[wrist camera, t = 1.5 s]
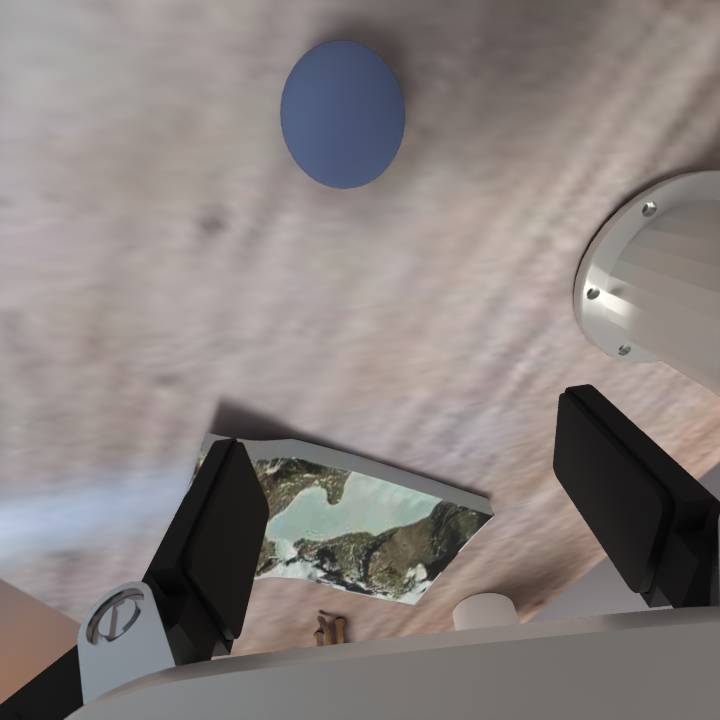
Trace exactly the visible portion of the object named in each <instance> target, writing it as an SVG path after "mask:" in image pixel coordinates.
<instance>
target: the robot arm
mask: <svg viewBox="0 0 720 720" xmlns="http://www.w3.org/2000/svg"><path fill="white" fill-rule="evenodd" d="M573 297H574V312H575V315H576V319H577V322H578V325H579V327H580V329H581V330H582V332H583V334H584V335H585V337H586V338H587V339H588V340H589V341H590V342H591V343H592V344H593V345H594V346H595V347H597V348H598V349H600V350H601V351H603V352H604V353H606V354H607V355H609V356H611V357H614V358H616V359H618V360H623V361H628V362H633V363H652V362H658V361H663V362H665V363H666V364H668V365H669V366H671V367H673V368H674V369H676V370H678V371H679V372H681V373H683V374H684V375H686V376H687V377H689V378H691V379H692V380H694V381H696V382H697V383H699V384H700V385H702V386H704V387H705V388H707V389H709V390H710V391H712V392H713V393H715V394H717V395H718V396H720V170H715V171H696V172H691V173H685V174H680V175H678V176H675V177H672V178H670V179H667V180H664V181H662V182H659V183H657V184H656V185H654V186H652V187H650V188H648V189H647V190H645V191H643V192H641V193H640V194H638V195H637V196H636V197H634V198H633V199H632V200H630V201H629V202H628V203H627V204H625V205H624V206H623V207H621V208H620V209H619V210H618V211H617V212H616V213H615V214H614V215H613V217H612V218H611V219H610V220H609V221H608V222H607V223H606V224H605V225H604V226H603V228H602V229H601V230H600V232H599V233H598V234H597V236H596V237H595V238H594V240H593V241H592V243H591V245H590V246H589V248H588V250H587V252H586V254H585V256H584V258H583V260H582V262H581V265H580V268H579V271H578V274H577V277H576V282H575V288H574V295H573ZM553 468H554V472H555V475H556V477H557V479H558V480H559V482H560V483H561V485H562V486H563V488H564V489H565V491H566V492H567V494H568V495H569V497H570V498H571V500H572V501H573V503H574V505H575V506H576V508H577V509H578V511H579V512H580V514H581V515H582V517H583V518H584V520H585V521H586V523H587V524H588V526H589V527H590V529H591V530H592V532H593V533H594V535H595V537H596V538H597V540H598V541H599V543H600V544H601V546H602V547H603V549H604V550H605V552H606V553H607V555H608V556H609V558H610V559H611V561H612V562H613V564H614V566H615V567H616V568H617V570H618V572H619V573H620V575H621V576H622V578H623V579H624V581H625V582H626V584H627V585H628V587H629V588H630V589H631V590H632V591H633V592H635V593H640V594H641V596H642V597H643V599H644V600H645V602H646V603H647V605H648V606H649V607H650V608H652V607H661V606H670V605H672V607H673V608H674V609H664V610H652V611H641V612H629V613H619V614H608V615H598V616H589V617H579V618H570V619H561V620H551V621H541V622H532V623H523V624H513V625H504V626H495V627H486V628H477V629H468V630H459V631H450V632H440V633H432V634H423V635H414V636H405V637H396V638H387V639H378V640H369V641H361V642H352V643H344V644H335V645H327V646H318V647H310V648H301V649H293V650H284V651H276V652H267V653H260V654H253V655H246V656H238V657H231V658H224V659H216V660H211V658H212V657H214V656H223V655H230V653H231V649H232V645H233V641H234V639H238V638H239V636H240V634H241V631H242V627H243V623H244V619H245V614H246V610H247V606H248V602H249V598H250V594H251V589H252V585H253V581H254V577H255V573H256V569H257V565H258V560H259V556H260V552H261V548H262V544H263V540H264V535H265V531H266V527H267V523H268V519H269V504H268V502H267V499H266V497H265V494H264V492H263V489H262V487H261V484H260V482H259V480H258V477H257V475H256V472H255V470H254V467H253V465H252V462H251V460H250V458H249V455H248V453H247V450H246V448H245V445H244V443H243V442H238V441H237V439H236V438H229V439H222V440H216V441H214V442H213V444H212V446H211V448H210V450H209V452H208V454H207V456H206V458H205V459H204V461H203V463H202V465H201V467H200V469H199V471H198V473H197V475H196V477H195V479H194V481H193V483H192V485H191V487H190V489H189V491H188V493H187V494H186V495H185V497H184V499H183V501H182V503H181V505H180V507H179V509H178V511H177V513H176V515H175V517H174V518H173V520H172V522H171V524H170V526H169V528H168V530H167V532H166V534H165V536H164V538H163V540H162V542H161V544H160V546H159V548H158V550H157V552H156V554H155V556H154V558H153V560H152V562H151V563H150V565H149V567H148V569H147V571H146V573H145V575H144V577H143V579H142V581H140V582H129V583H126V584H123V585H121V586H119V587H117V588H115V589H114V590H112V591H110V592H109V593H108V594H106V595H105V596H104V597H103V598H101V599H100V600H99V601H98V602H97V603H96V604H95V606H94V607H93V608H92V609H91V610H90V611H89V613H88V614H87V616H86V617H85V619H84V620H83V622H82V625H81V627H80V629H79V632H78V641H77V645H76V646H74V647H73V648H72V649H71V650H69V651H68V652H67V653H66V654H64V655H63V656H62V657H60V658H59V659H58V660H57V661H55V662H54V663H53V664H52V665H50V666H49V667H48V668H47V669H45V670H44V671H43V672H41V673H40V674H39V675H37V676H36V677H35V678H34V679H32V680H31V681H30V682H28V683H27V684H26V685H25V686H23V687H22V688H21V689H20V690H18V691H17V692H16V693H14V694H13V695H12V696H11V697H9V698H8V699H7V700H6V701H4V702H3V703H2V704H0V720H720V502H719V501H718V500H717V499H716V498H715V497H714V496H713V495H712V494H711V493H710V492H709V491H708V490H706V489H705V488H704V487H703V486H702V485H701V484H700V483H699V482H698V481H697V480H695V479H694V478H693V477H692V476H691V475H690V474H689V473H688V472H687V471H686V470H685V469H683V468H682V467H681V466H680V465H679V464H678V463H677V462H676V461H675V460H674V459H672V458H671V457H670V456H669V455H668V454H667V453H666V452H665V451H664V450H663V449H662V448H660V447H659V446H658V445H657V444H656V443H655V442H654V441H653V440H652V439H651V438H649V437H648V436H647V435H646V434H645V433H644V432H643V431H641V430H640V429H639V428H638V427H637V426H636V425H635V424H634V423H633V422H632V421H631V420H629V419H628V418H627V417H626V416H625V415H624V414H623V413H622V412H621V411H620V410H619V409H617V408H616V407H615V406H614V405H613V404H612V403H611V402H610V401H609V400H608V399H606V398H605V397H604V396H603V395H602V394H601V393H600V392H599V391H598V390H597V389H596V388H594V387H593V386H592V385H590V384H586V385H580V386H573V387H568V388H566V390H565V393H562V394H560V396H559V404H558V415H557V426H556V437H555V448H554V459H553Z"/></svg>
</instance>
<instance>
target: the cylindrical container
mask: <svg viewBox="0 0 720 720" xmlns="http://www.w3.org/2000/svg"><path fill="white" fill-rule="evenodd" d="M453 619H454V623H455V628H456V631H459V630H468V629H477V628H486V627H495V626H504V625H513V624H521V623H520V620H519V618H518V615H517V612H516V610H515V607H514V605H513V602H512V601H511V600H510V599H509V598H508V597H506V596H504V595H501V594H496V593H482V594H477V595H473V596H470V597H468V598H466V599H464V600H462V601H461V602H460V603H458V604H457V605H456V607H455V608H454V610H453Z"/></svg>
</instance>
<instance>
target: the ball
mask: <svg viewBox="0 0 720 720" xmlns="http://www.w3.org/2000/svg"><path fill="white" fill-rule="evenodd" d="M280 115H281V126H282V132H283V136H284V139H285V142H286V145H287V147H288V149H289V151H290V153H291V155H292V157H293V158H294V160H295V161H296V163H297V164H298V165H299V167H300V168H301V169H302V170H303V171H304V172H305V173H306V174H308V175H309V176H310V177H311V178H313V179H314V180H316V181H317V182H319V183H322V184H324V185H326V186H329V187H333V188H340V189H348V188H355V187H359V186H362V185H365V184H367V183H369V182H371V181H372V180H374V179H375V178H377V177H378V176H379V175H380V174H382V173H383V171H384V170H385V169H386V168H387V167H388V166H389V165H390V163H391V162H392V160H393V159H394V157H395V155H396V153H397V151H398V149H399V146H400V144H401V140H402V137H403V132H404V125H405V107H404V101H403V96H402V92H401V89H400V86H399V84H398V81H397V79H396V77H395V75H394V73H393V72H392V70H391V69H390V67H389V66H388V65H387V63H386V62H385V61H384V60H383V59H382V58H381V57H380V56H379V55H378V54H377V53H375V52H374V51H373V50H371V49H370V48H368V47H366V46H364V45H362V44H359V43H357V42H352V41H346V40H337V41H330V42H326V43H323V44H321V45H318V46H316V47H314V48H313V49H311V50H310V51H309V52H307V53H306V54H305V55H304V56H303V57H302V58H301V59H300V60H299V61H298V62H297V64H296V65H295V66H294V68H293V69H292V71H291V73H290V74H289V77H288V79H287V81H286V84H285V87H284V90H283V94H282V100H281V111H280Z"/></svg>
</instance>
